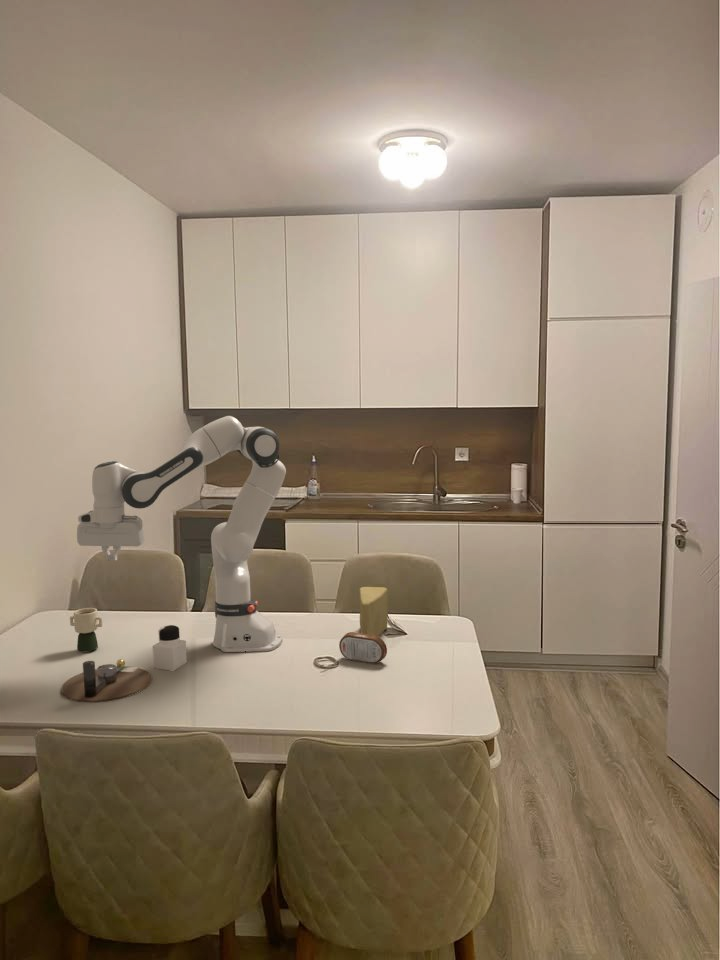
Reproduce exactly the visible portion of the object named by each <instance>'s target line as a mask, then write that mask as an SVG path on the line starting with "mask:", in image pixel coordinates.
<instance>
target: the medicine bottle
mask: <svg viewBox="0 0 720 960" xmlns="http://www.w3.org/2000/svg"><path fill="white" fill-rule="evenodd" d="M152 654H153V655H152V658H153V669H156V670H162V671H165V670H166V671H170V672H171V671H172V672H173V671H176V670H177V669H179V668H181V667H182V666H184V665H185V664H186V663H187V642H186V640H185V639H180V627H179V626H178V625H177V626H176V625H173V624H171V625H170V624H169V625H164V626H161V627H160V628H159V629H158V642H157V643H155V644H153V645H152Z"/></svg>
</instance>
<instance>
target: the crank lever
mask: <svg viewBox="0 0 720 960" xmlns="http://www.w3.org/2000/svg"><path fill="white" fill-rule="evenodd" d="M95 664H96V663H95V661H94V660H87V661H84V662H83V663H82V673H83V676H84V692H85V697H93V696H96V694H97V693H98V692H99V691H100V690H101V689H102V688H103V687H105V686H106V685H107V684H110V683H113V682H115V681H116V680H117V677H116V673H117V672H118V671H119V670H121V669H122V668H123V667H124V666H126V661H125V660H124V659H122V658H121V659H118V660H117V661H116V665H115V664H111V663H107V664H102V665H100V666H98V667H97V668H96V665H95ZM95 669H97V674H98V679H97V680H96V676H95Z"/></svg>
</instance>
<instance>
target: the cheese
mask: <svg viewBox="0 0 720 960" xmlns="http://www.w3.org/2000/svg"><path fill="white" fill-rule="evenodd" d="M388 596H389V595H388V589H387V587H382V586H381V587H378V586H377V587H375V586H362V587H360V588H359V626H360V627H359V628H360V633H362V634H368V635H375V636H378V637H380V636H381V635H382V634H383V633H384V630H385V629H386V630H387V629H388V617H389V615H388V613H389V607H388V606H389V601H388V600H389V597H388ZM386 630H385V631H386Z"/></svg>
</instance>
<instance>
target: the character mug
mask: <svg viewBox="0 0 720 960" xmlns="http://www.w3.org/2000/svg"><path fill="white" fill-rule="evenodd" d="M69 624H70V626H72V627H74V630H75V631H74V632H75V633H78V635H77V645H76V646H77V648H76V649H77V651H78V652H81V653H87V652H91V651H94V650H97V649H98V648H99V644H98V640H97V639H98V638H97V634H96V632H95V631H97V629H99V628H102V627H103V617H102V616H98V609H97V608H94V607H86V608H85V607H83V608H80V609H77V610H74V611H73V615H70V616H69Z"/></svg>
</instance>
